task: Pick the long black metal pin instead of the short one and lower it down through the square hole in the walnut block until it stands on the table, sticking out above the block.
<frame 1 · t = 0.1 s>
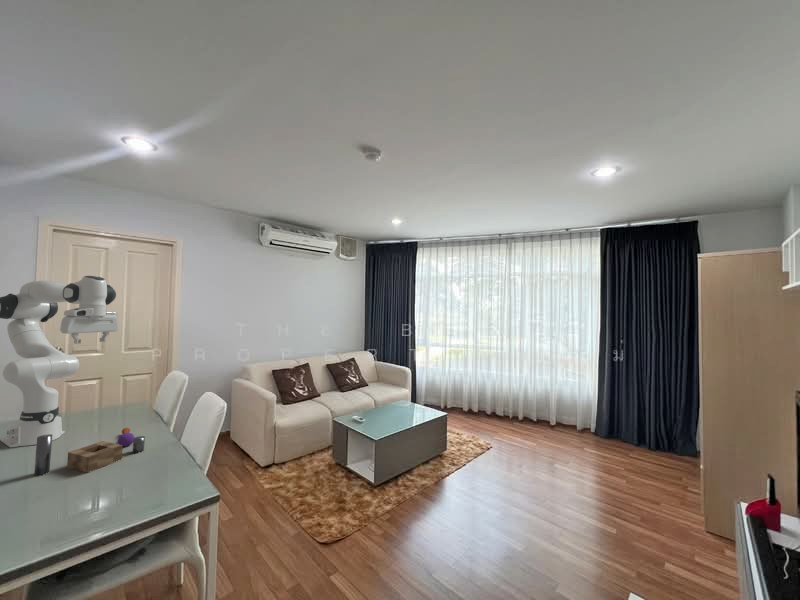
hand: (90, 342, 146), 48 cm above the table, tool pointing down, fingers open, 8 cm apart
short pin: (138, 451, 145), on the table
long pin: (41, 473, 124), on the table
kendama: (125, 441, 156), on the table
hole block: (95, 463, 133), on the table
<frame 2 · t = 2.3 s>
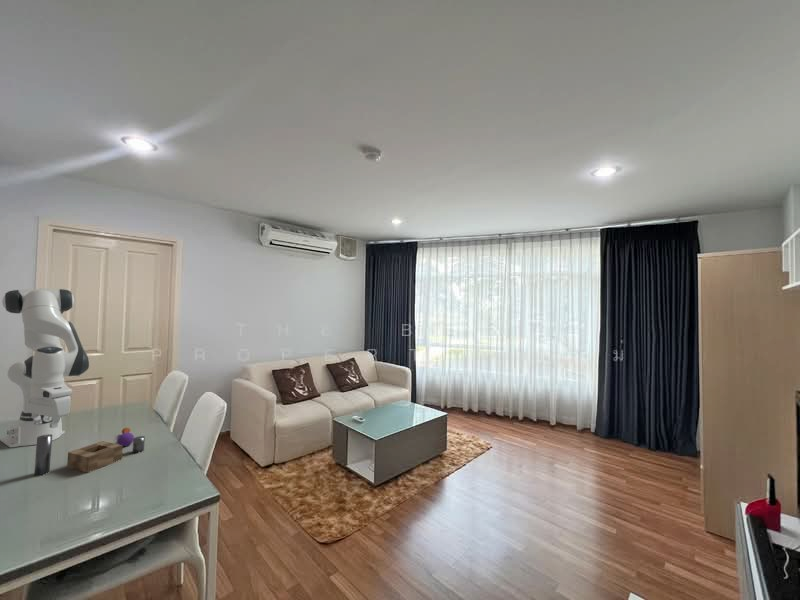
hand: (45, 426, 125), 18 cm above the table, tool pointing down, fingers open, 8 cm apart
nothing on the table moved.
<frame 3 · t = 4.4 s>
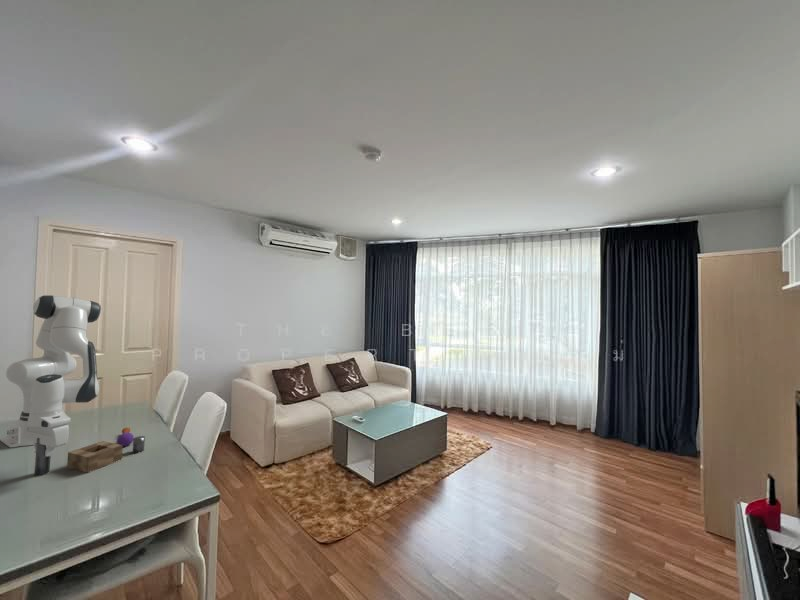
hand: (43, 454, 124), 7 cm above the table, tool pointing down, fingers closed on long pin, 4 cm apart
long pin: (41, 473, 124), on the table, touching gripper
everything else where it was.
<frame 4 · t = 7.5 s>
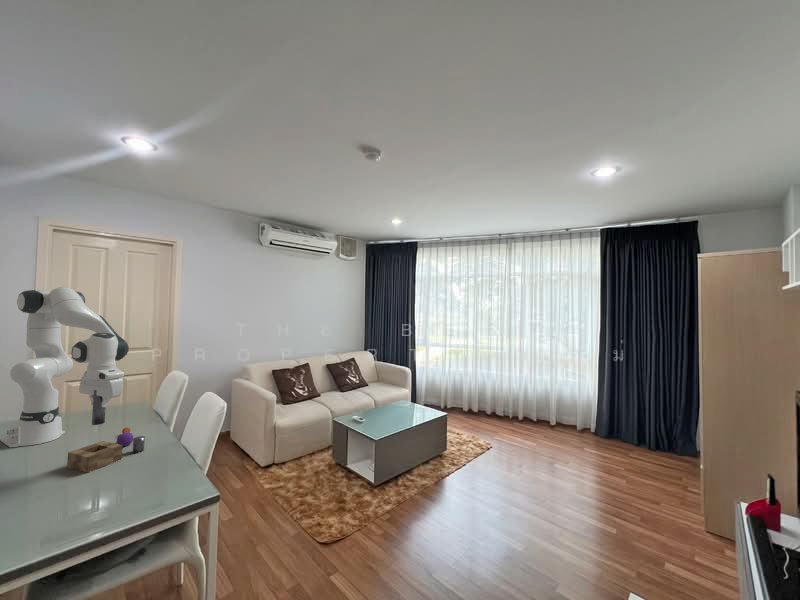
hand: (99, 406, 134), 23 cm above the table, tool pointing down, fingers closed on long pin, 4 cm apart
long pin: (98, 423, 134), point 16 cm above the table, touching gripper
everything else where it was.
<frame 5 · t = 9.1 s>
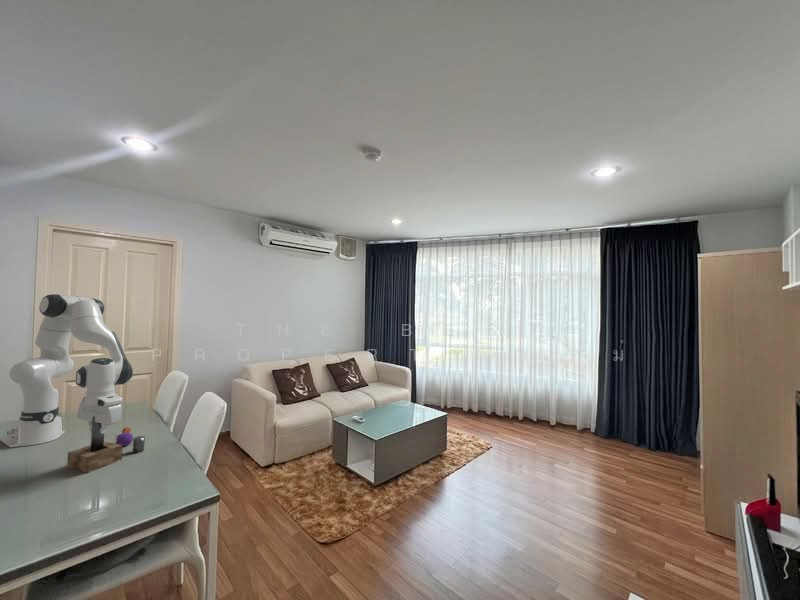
hand: (97, 432, 134), 13 cm above the table, tool pointing down, fingers closed on long pin, 4 cm apart
long pin: (96, 449, 134), point 6 cm above the table, touching gripper
everything else where it was.
when the fingers open (9 cm above the table, at t = 10.7 s): long pin drops 1 cm, resting in hole block.
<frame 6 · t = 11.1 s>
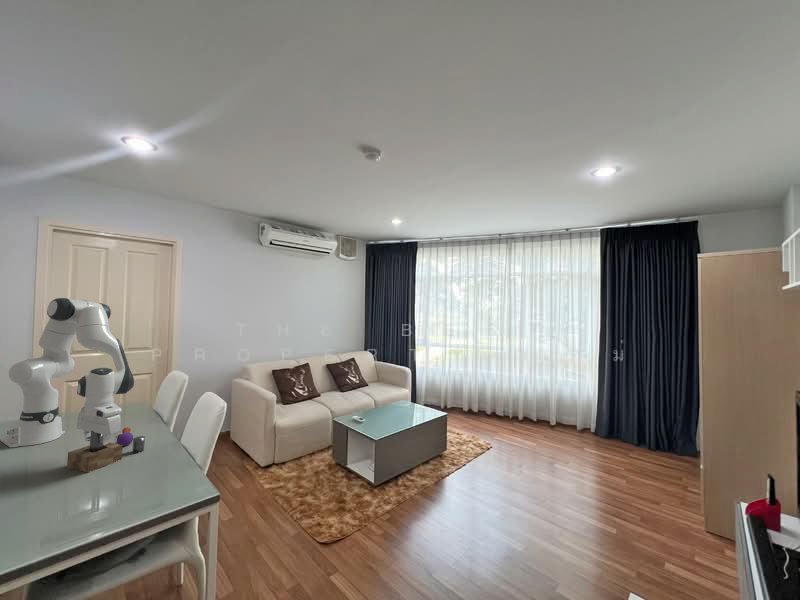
hand: (96, 442, 133), 9 cm above the table, tool pointing down, fingers open, 8 cm apart
long pin: (95, 463, 133), resting in hole block
everything else where it was.
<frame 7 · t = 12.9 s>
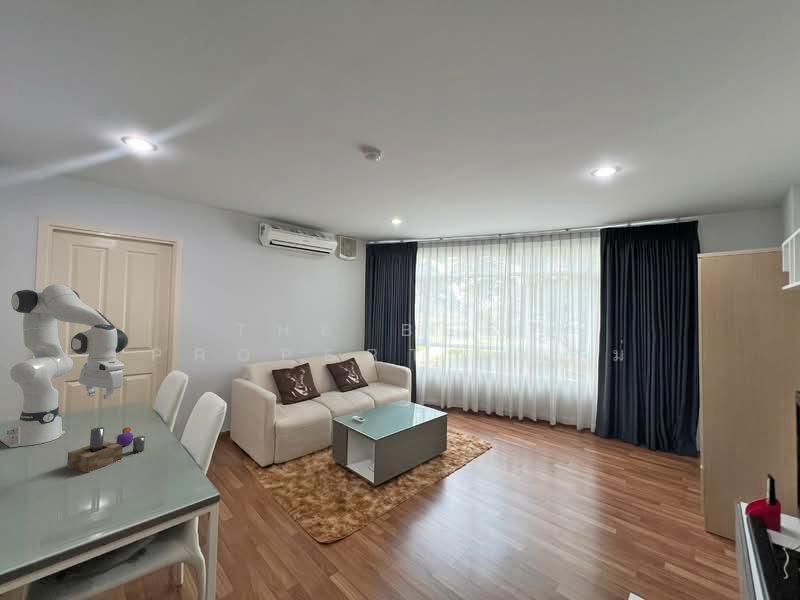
hand: (99, 397, 134), 27 cm above the table, tool pointing down, fingers open, 8 cm apart
nothing on the table moved.
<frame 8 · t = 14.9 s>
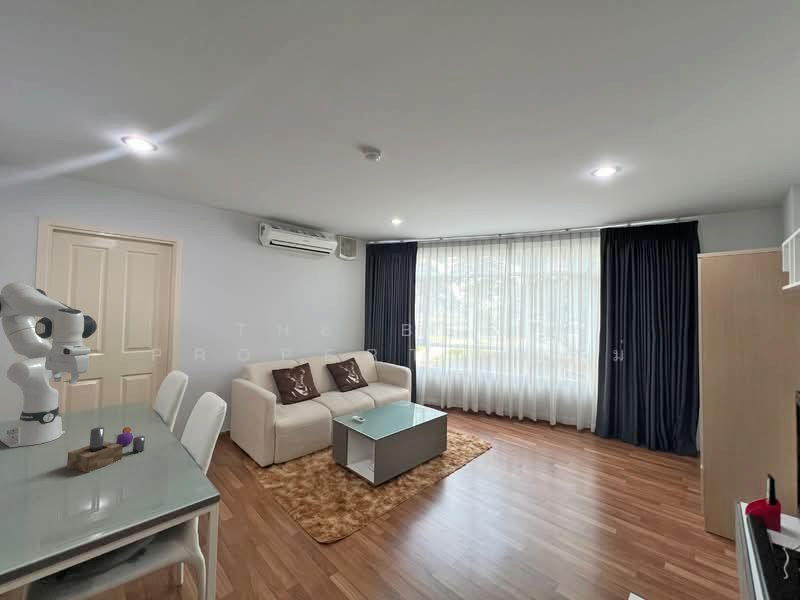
hand: (64, 382, 132), 33 cm above the table, tool pointing down, fingers open, 8 cm apart
at the end: long pin 0.1 cm off-centre on the hole block, point 0.0 cm above the hole block's base; long pin tilted 0°; short pin moved 0.0 cm from its start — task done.
